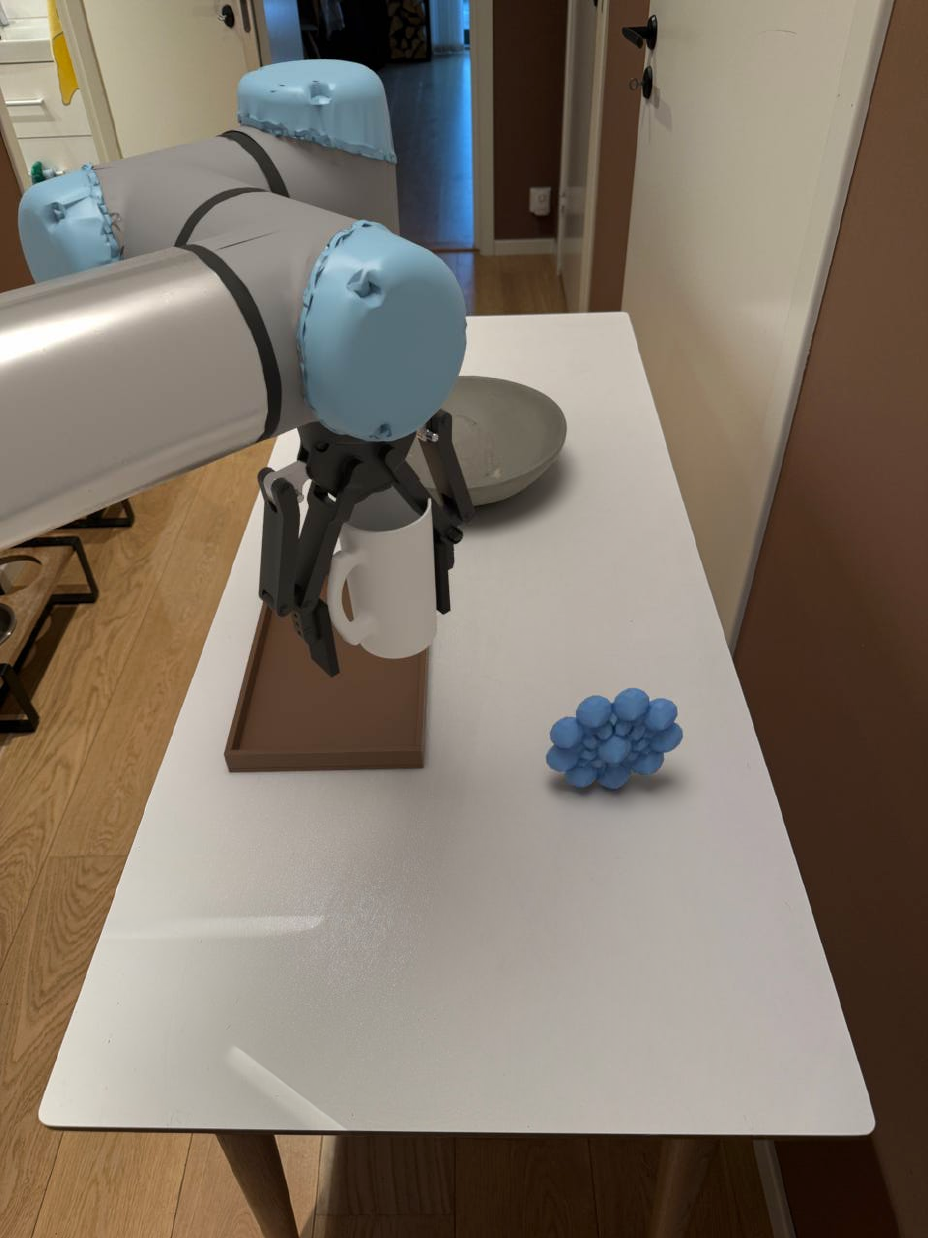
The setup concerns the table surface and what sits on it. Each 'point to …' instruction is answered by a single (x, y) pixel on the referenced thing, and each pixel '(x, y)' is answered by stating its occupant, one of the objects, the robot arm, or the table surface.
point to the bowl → (497, 437)
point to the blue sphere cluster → (614, 739)
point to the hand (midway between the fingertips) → (382, 634)
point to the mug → (385, 577)
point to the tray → (326, 704)
